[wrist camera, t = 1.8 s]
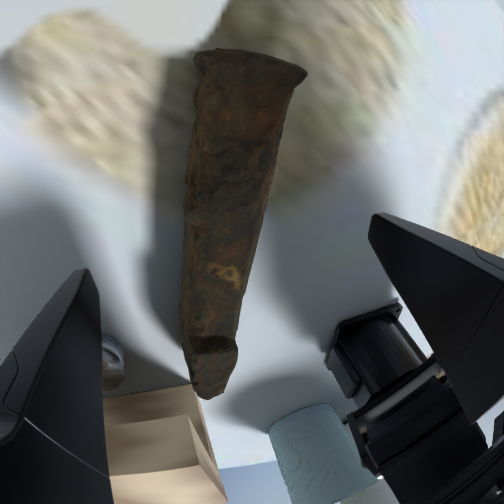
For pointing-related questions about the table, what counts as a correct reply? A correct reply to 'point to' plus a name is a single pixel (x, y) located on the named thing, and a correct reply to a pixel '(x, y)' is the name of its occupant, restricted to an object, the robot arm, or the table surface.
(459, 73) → the table surface
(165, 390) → the beige wooden box
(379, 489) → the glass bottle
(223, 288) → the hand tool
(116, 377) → the steel token
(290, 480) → the grey green cup
